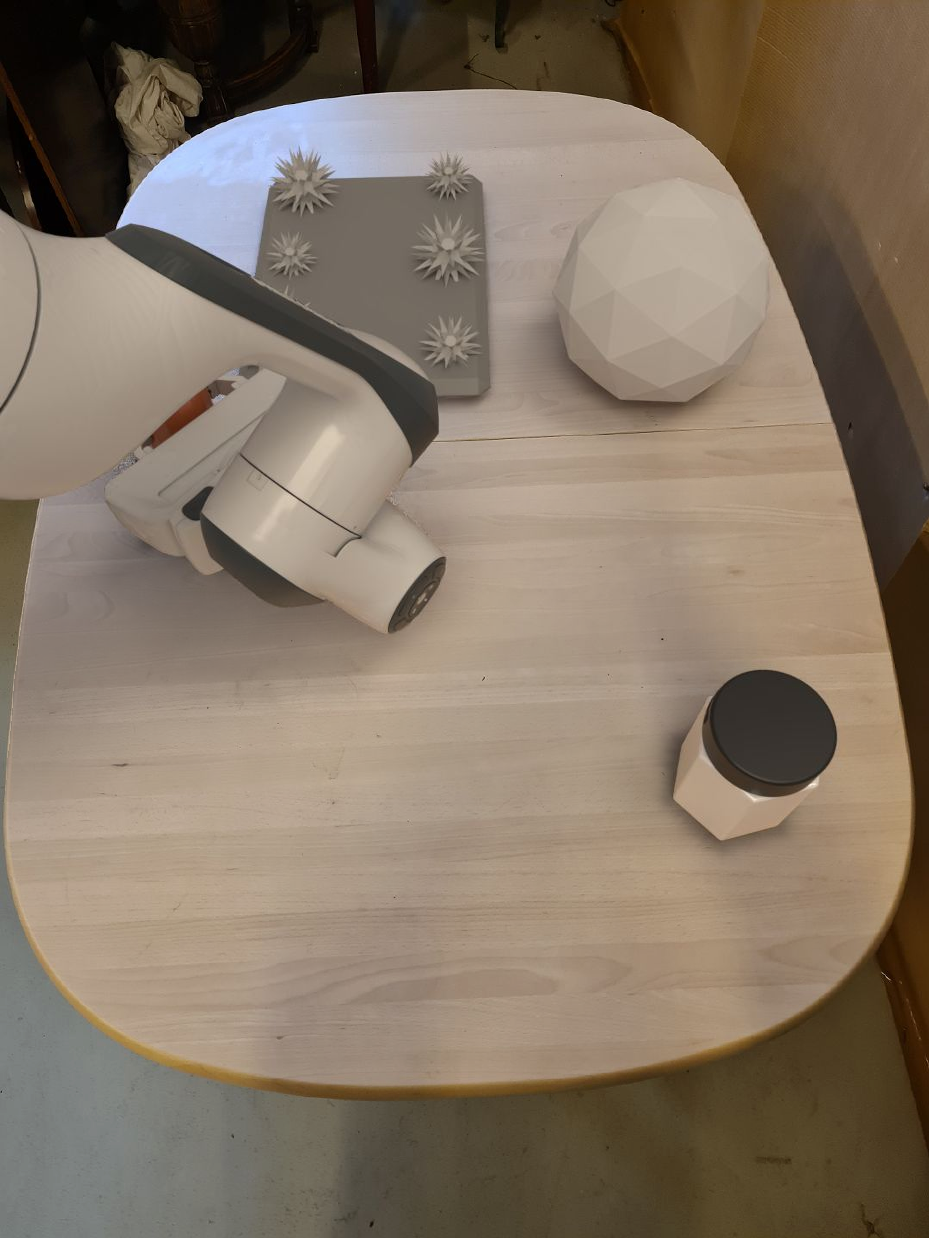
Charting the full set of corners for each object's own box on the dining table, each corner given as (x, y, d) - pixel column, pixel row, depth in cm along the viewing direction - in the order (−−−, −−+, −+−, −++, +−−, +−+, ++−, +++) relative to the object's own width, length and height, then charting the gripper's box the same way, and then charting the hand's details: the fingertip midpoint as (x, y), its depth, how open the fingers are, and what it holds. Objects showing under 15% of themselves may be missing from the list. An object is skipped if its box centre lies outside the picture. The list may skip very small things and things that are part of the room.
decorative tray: (490, 409, 85) (491, 330, 76) (232, 415, 85) (203, 337, 77) (482, 192, 102) (482, 107, 94) (267, 197, 103) (247, 114, 94)
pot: (201, 488, 75) (164, 407, 66) (143, 464, 77) (99, 382, 68) (242, 438, 78) (211, 354, 69) (185, 416, 79) (148, 331, 71)
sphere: (658, 388, 95) (792, 229, 84) (679, 479, 80) (847, 299, 69) (517, 293, 90) (640, 108, 79) (511, 370, 74) (663, 155, 63)
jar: (760, 723, 68) (810, 654, 58) (804, 821, 64) (867, 765, 54) (653, 749, 67) (684, 684, 57) (692, 850, 63) (733, 800, 53)
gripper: (363, 385, 69) (250, 309, 74) (163, 543, 62) (51, 447, 66) (372, 438, 74) (266, 364, 79) (189, 589, 67) (84, 498, 72)
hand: (166, 403), depth 73 cm, fingers closed on pot, 6 cm apart
